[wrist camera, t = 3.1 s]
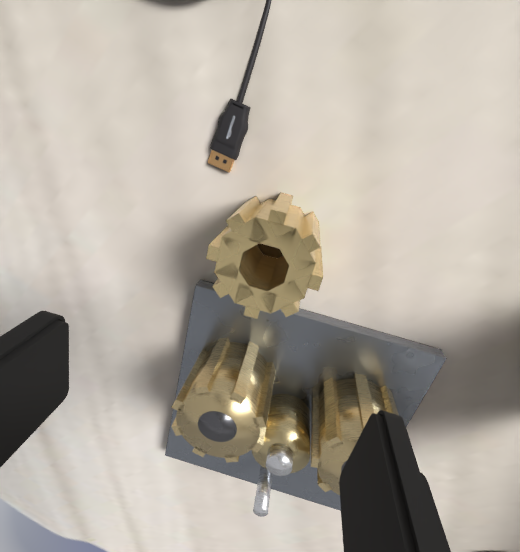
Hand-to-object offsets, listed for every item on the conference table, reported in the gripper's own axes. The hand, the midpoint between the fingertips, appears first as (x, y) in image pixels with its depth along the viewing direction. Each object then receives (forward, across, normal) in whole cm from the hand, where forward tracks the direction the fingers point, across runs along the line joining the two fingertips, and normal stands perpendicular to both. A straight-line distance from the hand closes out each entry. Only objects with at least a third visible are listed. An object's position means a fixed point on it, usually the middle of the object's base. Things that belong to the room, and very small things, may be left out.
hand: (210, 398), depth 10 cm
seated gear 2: (+15, -10, +12) cm, 22 cm away
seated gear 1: (+15, 0, +12) cm, 19 cm away
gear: (+16, 0, 0) cm, 17 cm away
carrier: (+16, -5, +15) cm, 23 cm away
